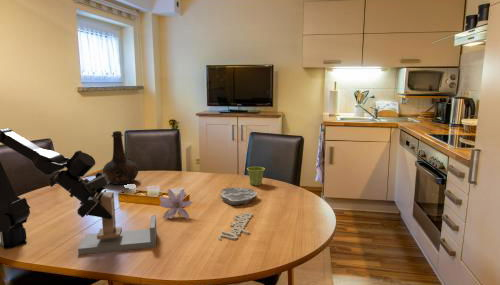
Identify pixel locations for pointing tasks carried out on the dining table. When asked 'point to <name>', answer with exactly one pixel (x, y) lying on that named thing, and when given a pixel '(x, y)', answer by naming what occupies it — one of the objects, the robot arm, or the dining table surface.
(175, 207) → the water lily
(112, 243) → the grey l-shaped bracket
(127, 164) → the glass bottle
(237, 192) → the brain slice
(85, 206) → the robot arm
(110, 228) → the brown upright panelled block
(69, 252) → the dining table surface
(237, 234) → the decorative sign
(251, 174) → the plant pot
